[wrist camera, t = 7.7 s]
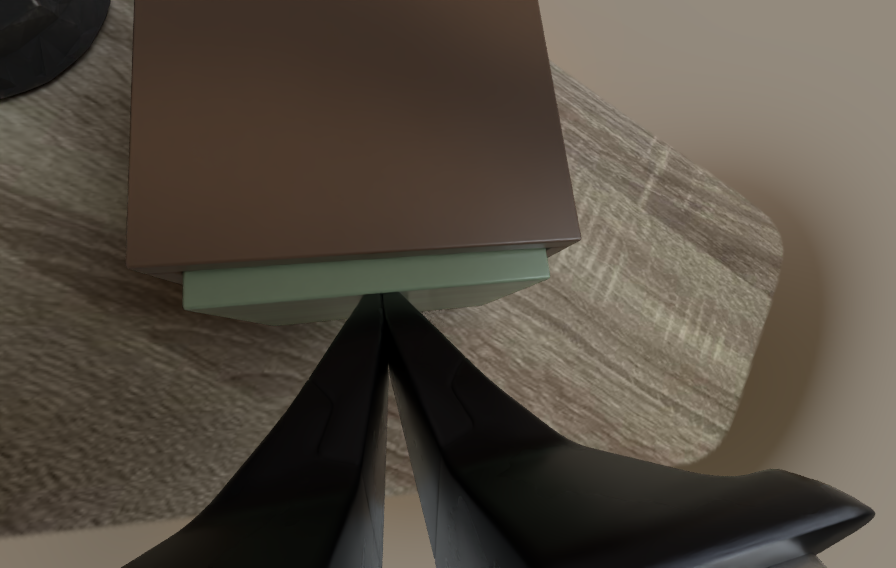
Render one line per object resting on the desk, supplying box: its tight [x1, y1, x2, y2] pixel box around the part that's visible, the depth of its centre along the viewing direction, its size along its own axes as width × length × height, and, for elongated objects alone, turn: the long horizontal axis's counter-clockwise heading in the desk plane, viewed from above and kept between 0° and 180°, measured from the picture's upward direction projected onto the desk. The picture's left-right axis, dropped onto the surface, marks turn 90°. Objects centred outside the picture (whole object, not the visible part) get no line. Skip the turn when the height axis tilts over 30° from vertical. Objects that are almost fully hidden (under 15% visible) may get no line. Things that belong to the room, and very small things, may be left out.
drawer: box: [183, 248, 550, 326], centre depth 12 cm, size 10×9×7 cm
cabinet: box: [125, 0, 581, 285], centre depth 13 cm, size 10×10×8 cm
